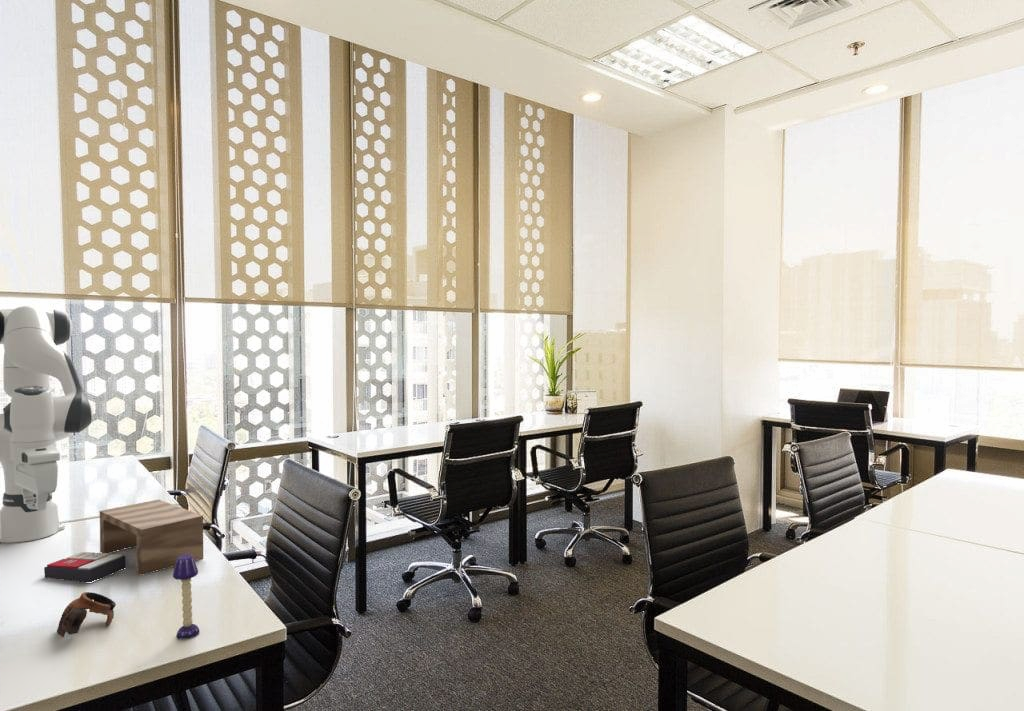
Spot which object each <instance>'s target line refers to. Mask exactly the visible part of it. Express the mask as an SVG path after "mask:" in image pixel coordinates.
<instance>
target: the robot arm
mask: <svg viewBox="0 0 1024 711" xmlns="http://www.w3.org/2000/svg"><path fill="white" fill-rule="evenodd" d="M73 330H74V326H73V320H72V319H71V318H70V315H69V314H68V313H67V312H66V311H63V310H57V309H53V310H50V309H43V308H42V309H41V308H39V307H35V306H31V305H24V306H19V307H16V308H5V309H0V345H3V350H4V354H3V366H2V367H3V368H2V369H3V371H2V372H3V391H4V393H5V394H6V395H7V396H8V397H10V398H11V400H10V402H8V404H7V405H5V406H4V407H3V408H2V410H3V413H0V465H1V466H2V470H3V477H4V478H3V479H4V493H3V494H2V506H1V509H0V542H1V543H21V542H28V541H34V540H38V539H43V538H47V537H50V536H52V535H54V534H56V533H57V532H59V531H61V530H64V529H65V528H66V527H65V524H62V523H60V517H59V507H58V504H57V503H56V502H54V501H52V499H53V494H54V493H55V492H56V490H57V487H58V478H59V476H58V475H59V474H58V472H59V471H58V469H59V468H58V467H59V466H58V461H60V460H61V453H60V451H59V449H58V448H57V444H56V442H58V441H61V440H64V439H67V438H68V437H70V435H71V434H72V433H75V434H76V433H81V432H83V431H84V430H85V429H86V428H88V427H89V426H90V425H92V421H93V416H94V414H93V413H94V412H93V407H92V405H91V403H90V401H89V398H88V397H87V395H86V393H85V390H84V388H83V386H82V382H81V380H80V377H79V374H78V371H77V369H76V367H75V365H74V364H75V363H74V361H73V359H72V357H71V356H70V353H68V352H67V351H64V350H62V349H60V348H59V347H58V346H60V345H63V344H65V343H66V342H67V341H69V340H70V338H71V337H72V334H73ZM50 376H51V377H53V378H56V379H57V380H58V381H59V382H60V384H61V388H62V391H63V393H64V395H61V396H53V395H52V390H51V388H50V387H51V386H50Z"/></svg>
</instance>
